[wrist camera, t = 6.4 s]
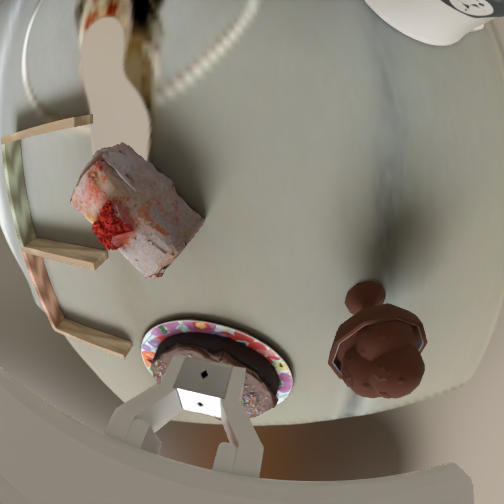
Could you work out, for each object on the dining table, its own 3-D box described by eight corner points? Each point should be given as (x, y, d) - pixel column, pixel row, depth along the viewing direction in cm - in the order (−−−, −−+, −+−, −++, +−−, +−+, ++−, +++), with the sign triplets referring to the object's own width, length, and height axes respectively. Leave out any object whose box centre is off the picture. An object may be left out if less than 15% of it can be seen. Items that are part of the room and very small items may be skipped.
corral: (16, 132, 27) (1, 137, 24) (92, 114, 26) (74, 117, 23) (62, 320, 47) (54, 330, 44) (132, 345, 45) (124, 358, 42)
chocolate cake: (119, 345, 47) (105, 369, 41) (213, 284, 35) (198, 317, 30) (216, 415, 55) (210, 439, 49) (323, 386, 43) (323, 416, 38)
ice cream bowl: (349, 250, 30) (377, 351, 17) (418, 281, 30) (462, 371, 17) (309, 314, 35) (308, 415, 22) (375, 335, 35) (393, 425, 22)
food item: (103, 183, 30) (50, 212, 22) (133, 134, 27) (75, 149, 18) (178, 253, 33) (143, 302, 25) (218, 211, 30) (186, 255, 21)
